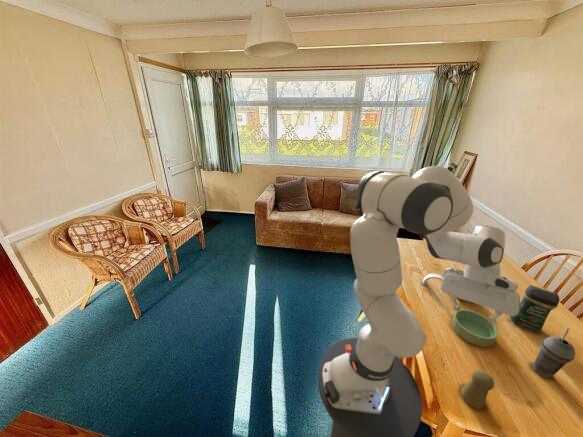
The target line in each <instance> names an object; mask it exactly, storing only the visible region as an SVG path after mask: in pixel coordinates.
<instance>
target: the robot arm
mask: <svg viewBox="0 0 583 437" xmlns="http://www.w3.org/2000/svg"><path fill="white" fill-rule="evenodd" d="M355 208H356V211H357V213H358V215H360V216H361V217H359V218H357V219H356V220H355V221H354V222H353V223H352V225H351V227H350V232H349V239H350V240H349V242H350V243H349V245H350V254H351V258H352V263H353V268H354V273H355V277H356V278H355V280H354V282H353V284H352V289H353V293H354V296H355V299H356V302H357V304H358V306H359V307H360V309H361V311H362V312H363V314H364V316H365V317H366V319H367V321H368V323H366V324H365V325H364V326H362V327H361V328H360V329H359V331H358V337H357V338H358V341H357V344H356V345H355V346H354V348H353V349H351V345H349V344H348V345H346V346H345V349H346V352H347V353H345V354H343V355H340V356H338V357H336V358H334V359H333V360H332V361H331V362H327V363H325V364H324V367H323V371H322V379H323V386H324V390H325V397H326V398H327V399H328V401H329V402H330V404H331V405H332V406H333V407H334V408H338V409H345V410H352V411H359V412H366V413H373V414H381V412H382V409H383V404H384V403H385V401H386V400H387V399H388V397H389V393H390V386H389V376H390V374H391V372H392V368H393V364H394V360H393V359H394V356H397V357H398V358H400V359H401V358H402V359H410V358H413V357H415V356H417V355H419V354H420V353H421V352H422V351H423V350H424V348H425V346H426V343H427V342H426V341H427V333H426V332H425V330H424V328H423V326H422V325H421V323H420V321H419V320H418V318H417V316H416V315H415V314H414V313H413V311H412V310H411V309H410V308H409V307H408V305H407V304H406V303H405V302H404V301H403V299H402V298H401V297H400V295H399V294H398V292H397V290H398V289H399V288H400V287H401V286H402V283H403V271H402V263H401V262H402V260H401V253H400V247H399V242H398V232H399V230H400V228H401V229H405V231H407V232H410V233H413V234H417V235H423V236H422V237H423V238H424V240H425V241H426V246H427V250H428V253H430V255H431V256H432V257H433V258H435V259H440V260H446V261H450V262H455V263H458V264H462V265H464V270H460V269H456V268H453V267H449V268H446V269H444V270H443V274H442V275H443V276H444V279H443V281H442V282H441V285H440V290H441V292H442V293H443V294H445V295H446V294H447V295H450V299H451V302H452V304H453V306H452V307H453V308H452V310H454V311H459V310H461V309H460V308H461V305H460V304H458V299H459V298H461V299H464V300H467V301H466V302H468V301H469V302H470V303H472V304H476V305H478V306H481V307H485V308H487V309H490V310H493V311H494V312H493V313H494V314H495V315H494V316H488V318H487V319H488V323H491V324H493V325H496V320H497V319H498V318H499V317H501V316H502V315H503V314H505V315H508V316H516V315H518V313H519V309H520V302H521V297H520V294H519V292H518V291H517V290H518V288H519V284H518V283H517V282H516V281H514V280H512V279H510V278H508V277H506V276H504V275H502V274H501V262H502V260H503V258H504V256H505V247H506V234H505V231H504V230H503V229H501V228H497V227H495V226H488V225H478V226H475V227H474V229H473V232H472V233H464V232H458V231H456V230H459V229H461V228H462V227H463V226H465V225H466V224H468V222H469V221H470V220H471V218H472V217H473V215H474V204H473V201H472V197H471V196H470V195H469V193H468V191H467V189H466V187H465V186H464V184H463V183H462V182H461V181H460V180H459V179H458V178H457V176H455V174H454V173H453V172H452V171H450V170H449V169H448V168H446V167H444V166H441V165H430V166H426V167H423V168H421V169H419V170H418V171H417V172H415V173H414V174H413V175H412V176H409V175H407V174H401V173H395V172H388V171H385V170H377V171H372V172H368V173H366V174H365V175H364V176H363V177H362V178H361V179H360V181H359V183H358V185H357V188H356V206H355ZM461 299H460V300H461ZM464 300H463V301H464ZM325 371H326V372H325ZM348 405H349V406H348ZM373 407H374V408H375V409H373Z"/></svg>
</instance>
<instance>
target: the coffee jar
mask: <svg viewBox="0 0 583 437" xmlns="http://www.w3.org/2000/svg"><path fill="white" fill-rule="evenodd" d="M559 303H560V296H559V294H558V293H557V292H553V291H550V290H548V289H544V288H541V287H539V286H535V285H533V284H530V285H529V286H527V287H526V288H525V290H524V291H523V298H522V299H521V300H520V309H519V313H518V315H516V316H510V315H509V316H510V321H511V322H512V323H513V324H515V325H516V326H518V327H520V328H522V329H524V330H527V331H530V332H532V333H540V332H541V331H542V330H543V328H544V325H545V323H546V320H547V318H548V317H549V314H550V313H551V311H553V310H555V309H556V308H558V306H559Z"/></svg>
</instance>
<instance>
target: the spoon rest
mask: <svg viewBox="0 0 583 437" xmlns="http://www.w3.org/2000/svg"><path fill="white" fill-rule="evenodd" d="M430 279H436V280H437V279H438V280H440V281H442V282H443V279H444V276H443V274H439V273H429V274H427V275H425V276H424V278H423V280H422V285H426V283H427V282H428V281H429V280H430ZM458 299H459V300H461V301H464V302H469V301H467V300H464V299H461V298H458Z"/></svg>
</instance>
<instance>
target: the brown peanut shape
mask: <svg viewBox="0 0 583 437" xmlns="http://www.w3.org/2000/svg"><path fill="white" fill-rule="evenodd" d="M494 387H495V381H494V379H493V377H492V376H491V374H489V373H488V372H486V371H484V370H481V369H475V370H473V371H472V373H471V379H470V380H469V381H468V382H467V383H466V384H465V385H464V386H463V387H462V388H461V389H460V395H461V397H462V399H463V400H464V401H465V402H466V404H468V405H469V406H471V407H472V408H475V409H477V410H481V409H484V407H485V406H486V405H485V404H486V402H487V401H486V400H487V397H488V394H489V391H491V390H493V389H494Z"/></svg>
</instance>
